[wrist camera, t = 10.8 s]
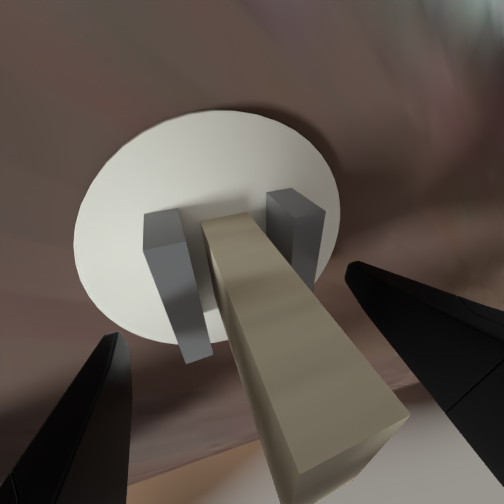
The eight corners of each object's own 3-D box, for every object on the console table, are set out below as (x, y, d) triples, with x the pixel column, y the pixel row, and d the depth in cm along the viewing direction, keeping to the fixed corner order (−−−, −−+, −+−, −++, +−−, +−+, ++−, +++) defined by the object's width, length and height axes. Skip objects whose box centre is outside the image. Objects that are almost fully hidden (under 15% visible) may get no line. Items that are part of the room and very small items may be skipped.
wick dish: (314, 297, 17) (346, 337, 14) (137, 355, 14) (134, 420, 11) (348, 99, 10) (424, 103, 7) (1, 124, 7) (-98, 147, 4)
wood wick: (251, 288, 12) (352, 481, 6) (215, 298, 12) (285, 520, 6) (246, 211, 10) (410, 414, 4) (200, 221, 9) (299, 474, 3)
